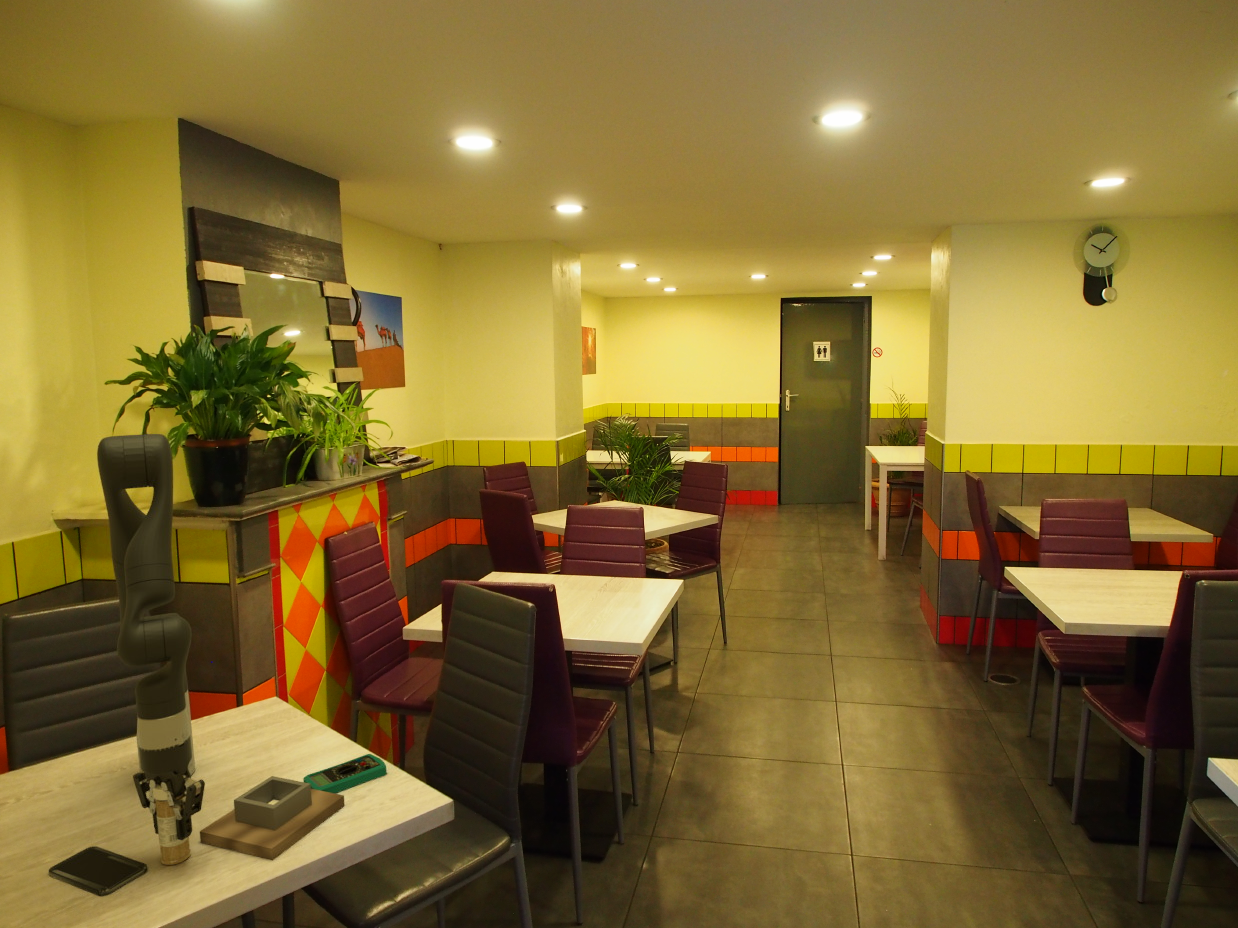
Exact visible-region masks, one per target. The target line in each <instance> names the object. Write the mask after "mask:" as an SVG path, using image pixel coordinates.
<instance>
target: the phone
mask: <svg viewBox="0 0 1238 928" xmlns="http://www.w3.org/2000/svg"><path fill="white" fill-rule="evenodd" d="M147 872H148V864H146V863H143V862H141V861H138V860H136V859H133V858H131V857H128V856H125V855H122V854H119V853H116V852H114V851H111V850H108V849H105V848H102V847H99V846H95V845H94V846H93V845H92V846H89V847H87V848H85V849H83V850H81V851H79V852H77V853H75V854H74V855H71V856H70V857H67V858H66V859H64V860H62V861H60V862H58V863H57V864H54V865H53V866H51V867H50V868H49V869H48V874H49V875H48V876H49V877H51V878H54V879H56V880H59V881H61V882H63V883H66V884H69V885H71V886H74V887H76V888H78V889H81V890H84V891H86V892H89V893H91V894H94V895H96V896H98V897H107V896H110V895H112V894H113V893H114V892H116V891H118V890H120V889H122V888H123V887H125V886H126V885H128V884H130V883H131V882H133V881H134V880H136V879H138V878H140V877H141V876H143V875H145V874H146V873H147Z"/></svg>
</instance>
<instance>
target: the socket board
mask: <svg viewBox="0 0 1238 928" xmlns="http://www.w3.org/2000/svg"><path fill="white" fill-rule="evenodd" d="M311 798H312V805H310V806H309V807H308V808H306V809H305V810H303V811H302V812H301V813H299V814H298V815H296V816H295V817H294V818H292V819H291V820H289V821H288V822H287V823H285V824H284V825H282V826H281V827H280V828H278V829H277V830H271V829H267V828H262V827H258V826H254V825H249V824H245V823H241V822H236V821H235V809H234V808H233V809H231V811H228V812H227V813H226V814H224V815H223V816H221V817H220V818H218V819H217V820H215V821H213V822H211V823H210V824H208V825H207V826H205V827H204V828H202V829H201V830H199V838H200V839H199V840H200V843H202V844H207V845H211V846H214V847H215V846H216V847H219V848H223V849H225V850H231V851H235V852H239V853H243V854H245V855H246V854H247V855H250V856H251V855H252V856H256V857H259V858H263V859H267V860H270V861H271V860H272V861H273V860H275V859H276V858H277V857H279V855H281V854H283V853H284V852H285V851H287V850H288V849H289V848H290V847H292V846H293V845H294V844H296V843H297V842H298V841H299V840H301V839H302V838H304V837H305V836H306V835H308V834H309V833H311V831H313V830H314V829H316V828H317V827H318V826H320V825H321V824H322V823H323V822H325V821H326V820H327V819H329V818H330V817H332V816H333V815H334V814H335V813H337V812H338V811H339V810H341V809H342V808H343V807H344V806H345V795H343V794H339V793H336V794H334V793H330V792H325V791H320V790H315V789H311ZM278 801H279V800H272V801H271V802H269V803H268V804H272V805H274V804H275V803H277V802H278Z"/></svg>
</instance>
